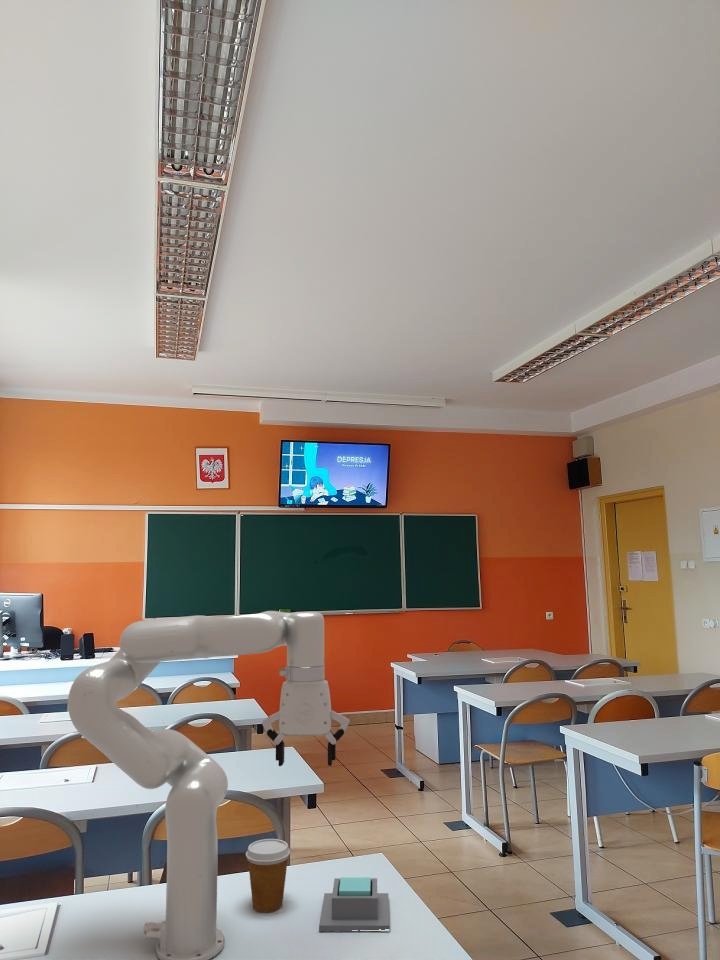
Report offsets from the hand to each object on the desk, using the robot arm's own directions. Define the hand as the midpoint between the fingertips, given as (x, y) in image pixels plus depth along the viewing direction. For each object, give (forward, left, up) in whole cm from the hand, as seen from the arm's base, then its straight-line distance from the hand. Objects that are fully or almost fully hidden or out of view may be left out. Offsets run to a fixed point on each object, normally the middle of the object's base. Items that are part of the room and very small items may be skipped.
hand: (305, 764), depth 134 cm
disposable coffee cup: (-10, +17, -33) cm, 39 cm away
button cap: (+9, +13, -31) cm, 35 cm away
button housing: (+9, +13, -33) cm, 37 cm away
